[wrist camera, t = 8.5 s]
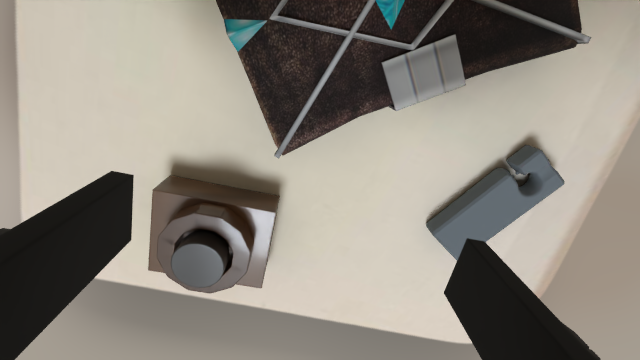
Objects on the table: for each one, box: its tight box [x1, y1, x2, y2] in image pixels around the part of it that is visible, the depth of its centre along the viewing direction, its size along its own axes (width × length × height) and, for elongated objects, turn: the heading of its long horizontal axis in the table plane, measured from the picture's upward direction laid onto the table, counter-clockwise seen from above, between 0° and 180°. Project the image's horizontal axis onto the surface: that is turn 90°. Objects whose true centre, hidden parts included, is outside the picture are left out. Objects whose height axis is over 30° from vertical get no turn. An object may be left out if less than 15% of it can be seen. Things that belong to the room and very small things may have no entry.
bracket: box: [426, 145, 564, 260], centre depth 28 cm, size 4×10×2 cm, turn 134°
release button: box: [171, 231, 230, 288], centre depth 23 cm, size 4×4×2 cm
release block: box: [148, 175, 280, 293], centre depth 26 cm, size 9×7×5 cm
